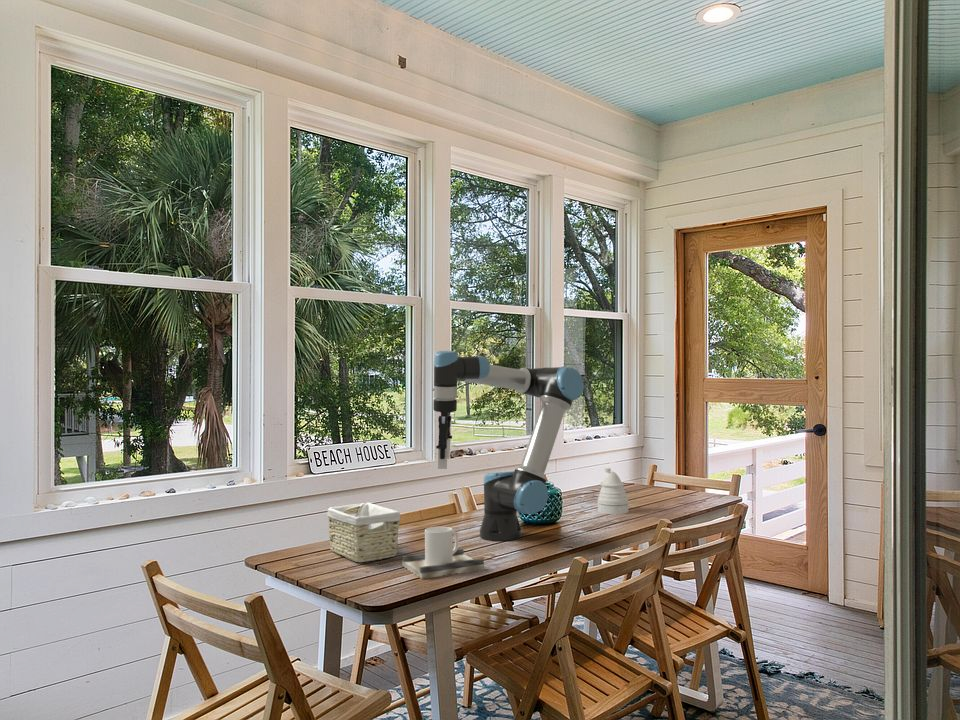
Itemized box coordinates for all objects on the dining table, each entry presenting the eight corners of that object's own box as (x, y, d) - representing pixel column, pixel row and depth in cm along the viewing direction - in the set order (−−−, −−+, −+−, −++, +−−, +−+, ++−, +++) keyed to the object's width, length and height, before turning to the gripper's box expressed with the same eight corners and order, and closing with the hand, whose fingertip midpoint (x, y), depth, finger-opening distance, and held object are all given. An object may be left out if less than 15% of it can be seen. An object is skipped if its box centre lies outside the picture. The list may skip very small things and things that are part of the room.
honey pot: (594, 513, 291) (593, 470, 292) (601, 507, 303) (600, 466, 303) (625, 515, 286) (624, 471, 287) (630, 509, 298) (630, 467, 299)
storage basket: (325, 550, 232) (325, 506, 232) (369, 543, 241) (369, 501, 242) (356, 566, 212) (355, 517, 213) (402, 557, 222) (402, 511, 222)
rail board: (461, 557, 221) (461, 548, 221) (484, 569, 206) (484, 559, 206) (402, 565, 212) (402, 555, 212) (421, 578, 197) (421, 568, 197)
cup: (419, 563, 208) (419, 529, 209) (449, 556, 217) (448, 523, 217) (437, 568, 202) (437, 533, 203) (467, 560, 211) (467, 527, 211)
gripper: (436, 393, 236) (435, 454, 238) (429, 404, 212) (428, 472, 213) (458, 393, 236) (457, 454, 238) (454, 405, 211) (453, 473, 213)
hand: (444, 463), depth 226 cm, fingers open, 13 cm apart
